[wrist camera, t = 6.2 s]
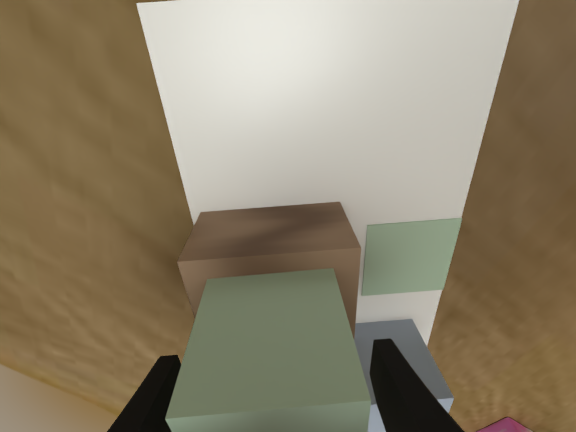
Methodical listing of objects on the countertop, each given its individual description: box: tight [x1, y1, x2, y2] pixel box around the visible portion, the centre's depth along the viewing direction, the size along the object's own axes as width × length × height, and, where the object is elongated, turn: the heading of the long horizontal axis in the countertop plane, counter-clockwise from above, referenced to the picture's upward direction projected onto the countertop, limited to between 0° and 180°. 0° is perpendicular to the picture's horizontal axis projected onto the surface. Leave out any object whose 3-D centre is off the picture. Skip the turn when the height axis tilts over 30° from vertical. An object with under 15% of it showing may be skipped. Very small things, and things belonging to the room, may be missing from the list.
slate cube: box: [354, 319, 454, 432], centre depth 18 cm, size 5×5×5 cm
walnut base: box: [177, 202, 361, 338], centre depth 14 cm, size 7×7×4 cm
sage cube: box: [165, 268, 371, 432], centre depth 10 cm, size 5×5×5 cm
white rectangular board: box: [136, 0, 519, 346], centre depth 17 cm, size 14×25×1 cm, turn 4°
